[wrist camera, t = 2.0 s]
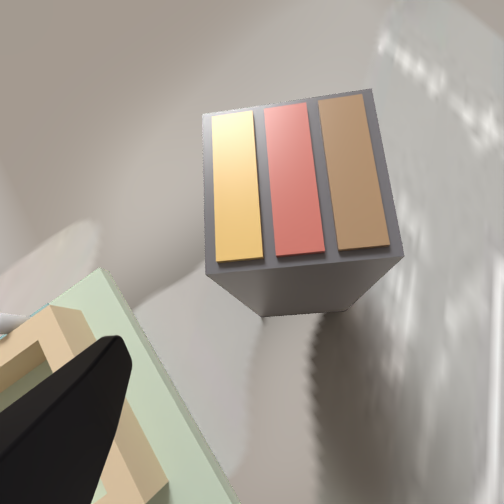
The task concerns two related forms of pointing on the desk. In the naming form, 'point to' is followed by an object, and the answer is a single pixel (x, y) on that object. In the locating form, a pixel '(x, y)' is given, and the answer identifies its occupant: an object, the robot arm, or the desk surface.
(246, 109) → the plug block
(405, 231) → the desk surface
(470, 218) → the desk surface
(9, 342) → the board
